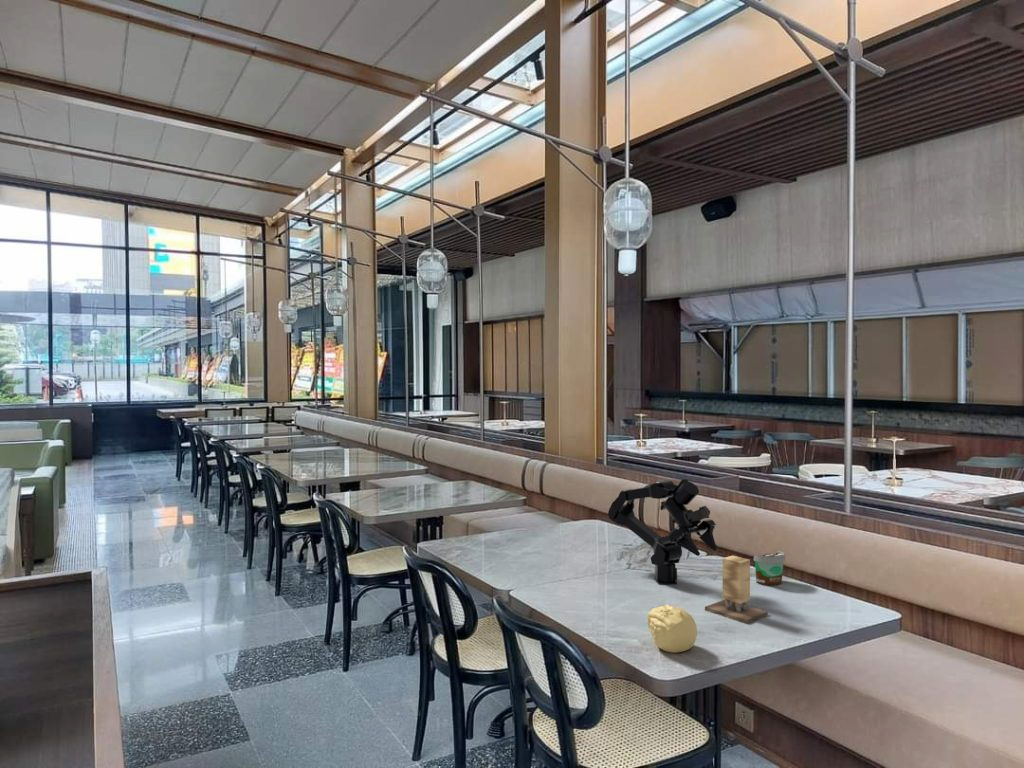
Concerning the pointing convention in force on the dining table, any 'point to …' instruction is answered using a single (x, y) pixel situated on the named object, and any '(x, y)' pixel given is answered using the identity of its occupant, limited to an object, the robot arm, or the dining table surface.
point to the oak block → (736, 579)
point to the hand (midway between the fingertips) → (707, 552)
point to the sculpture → (672, 628)
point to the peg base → (736, 611)
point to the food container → (769, 568)
